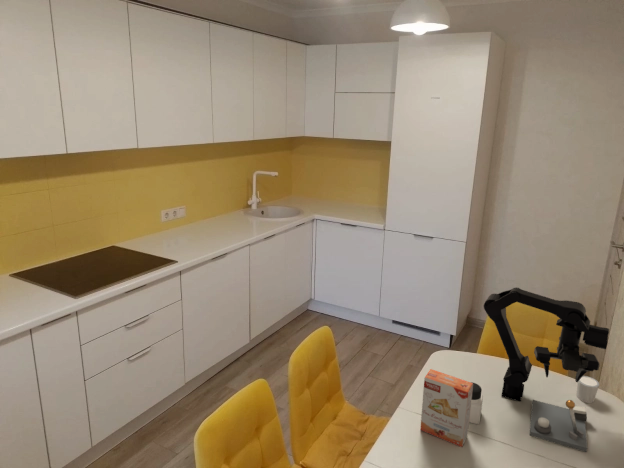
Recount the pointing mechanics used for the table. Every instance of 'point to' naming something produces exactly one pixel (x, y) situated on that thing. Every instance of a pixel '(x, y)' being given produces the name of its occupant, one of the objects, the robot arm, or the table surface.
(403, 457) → the table surface
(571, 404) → the toggle lever
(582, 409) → the rocker switch
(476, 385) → the medicine bottle
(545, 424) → the push button
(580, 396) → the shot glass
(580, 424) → the switch panel
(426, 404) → the cracker box
